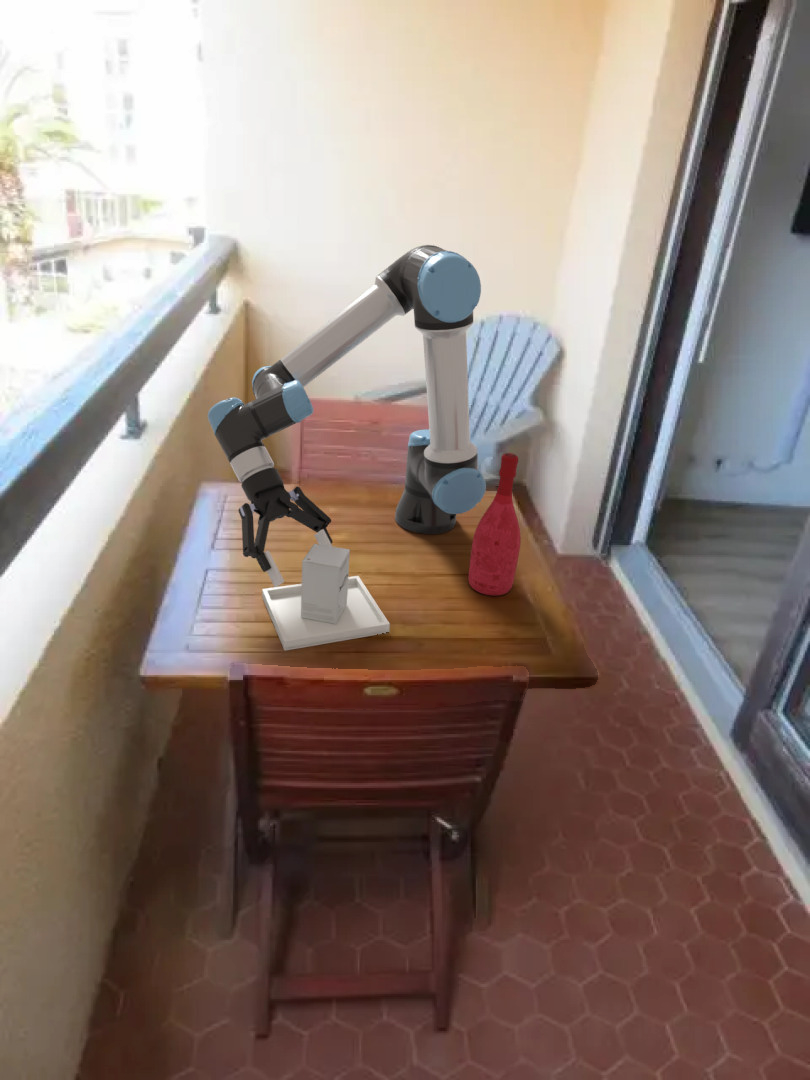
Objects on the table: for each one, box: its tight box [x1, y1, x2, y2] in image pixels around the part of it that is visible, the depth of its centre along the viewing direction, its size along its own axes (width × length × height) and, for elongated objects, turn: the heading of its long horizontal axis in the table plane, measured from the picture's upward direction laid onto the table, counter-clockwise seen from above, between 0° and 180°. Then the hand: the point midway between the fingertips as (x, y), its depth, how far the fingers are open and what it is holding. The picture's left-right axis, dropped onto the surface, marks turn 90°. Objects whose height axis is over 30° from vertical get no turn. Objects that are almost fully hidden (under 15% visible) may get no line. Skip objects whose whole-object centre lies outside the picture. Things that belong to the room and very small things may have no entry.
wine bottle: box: [468, 452, 522, 596], centre depth 146 cm, size 10×10×30 cm
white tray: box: [261, 575, 391, 651], centre depth 138 cm, size 20×18×2 cm
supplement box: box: [301, 543, 351, 624], centre depth 135 cm, size 7×7×13 cm
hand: (307, 572), depth 137 cm, fingers open, 13 cm apart
